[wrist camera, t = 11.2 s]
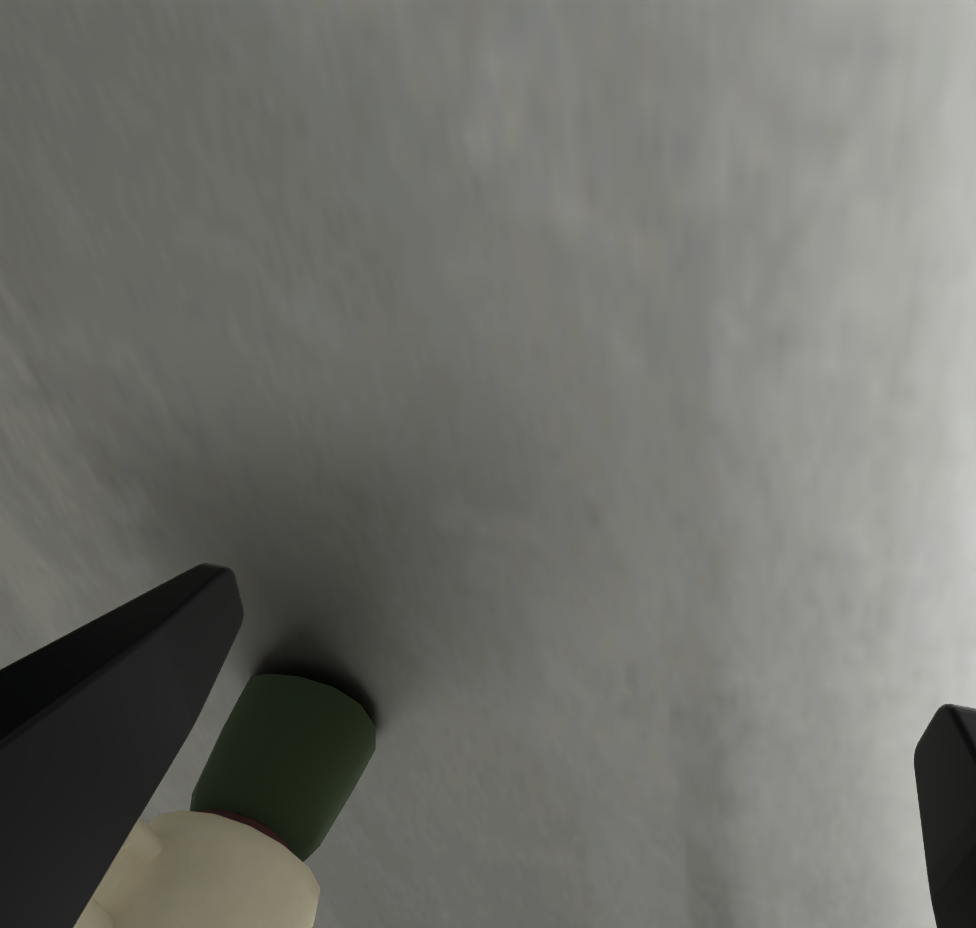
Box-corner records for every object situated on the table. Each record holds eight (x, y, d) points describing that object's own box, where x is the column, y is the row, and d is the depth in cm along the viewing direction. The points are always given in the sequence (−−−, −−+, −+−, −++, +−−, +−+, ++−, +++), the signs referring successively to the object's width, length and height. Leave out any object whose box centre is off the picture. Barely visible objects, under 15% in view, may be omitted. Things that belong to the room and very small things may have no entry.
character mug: (187, 626, 29) (-91, 972, 19) (322, 608, 27) (84, 1001, 16) (309, 784, 34) (141, 1130, 24) (434, 782, 31) (307, 1173, 21)
